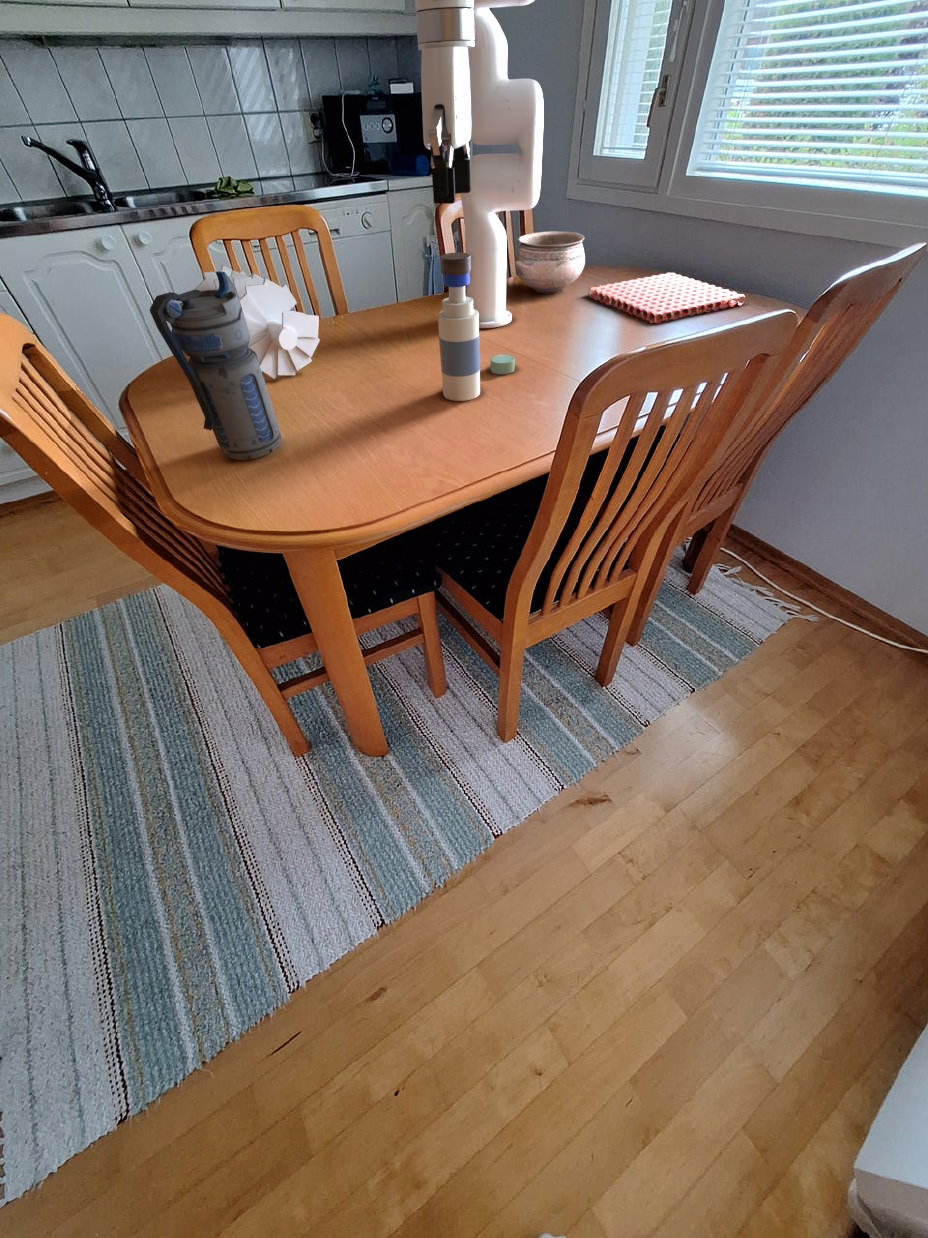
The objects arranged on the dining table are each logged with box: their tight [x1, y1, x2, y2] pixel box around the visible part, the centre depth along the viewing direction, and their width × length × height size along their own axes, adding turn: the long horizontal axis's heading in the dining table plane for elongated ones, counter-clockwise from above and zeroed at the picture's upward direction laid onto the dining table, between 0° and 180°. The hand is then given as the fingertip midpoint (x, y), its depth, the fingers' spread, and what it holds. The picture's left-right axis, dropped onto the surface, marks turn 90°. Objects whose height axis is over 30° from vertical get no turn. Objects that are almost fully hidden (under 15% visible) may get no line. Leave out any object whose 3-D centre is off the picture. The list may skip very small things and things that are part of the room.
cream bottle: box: [437, 273, 481, 402], centre depth 96 cm, size 7×7×20 cm
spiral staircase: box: [193, 264, 321, 380], centre depth 111 cm, size 18×18×25 cm
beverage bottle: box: [149, 270, 282, 461], centre depth 81 cm, size 10×13×25 cm
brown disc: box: [439, 252, 471, 275], centre depth 87 cm, size 5×5×2 cm
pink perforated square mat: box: [587, 272, 746, 324], centre depth 138 cm, size 28×28×2 cm
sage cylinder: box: [489, 353, 516, 375], centre depth 109 cm, size 5×5×2 cm
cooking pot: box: [514, 230, 586, 295], centre depth 145 cm, size 25×19×12 cm
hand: (453, 197), depth 81 cm, fingers open, 9 cm apart
